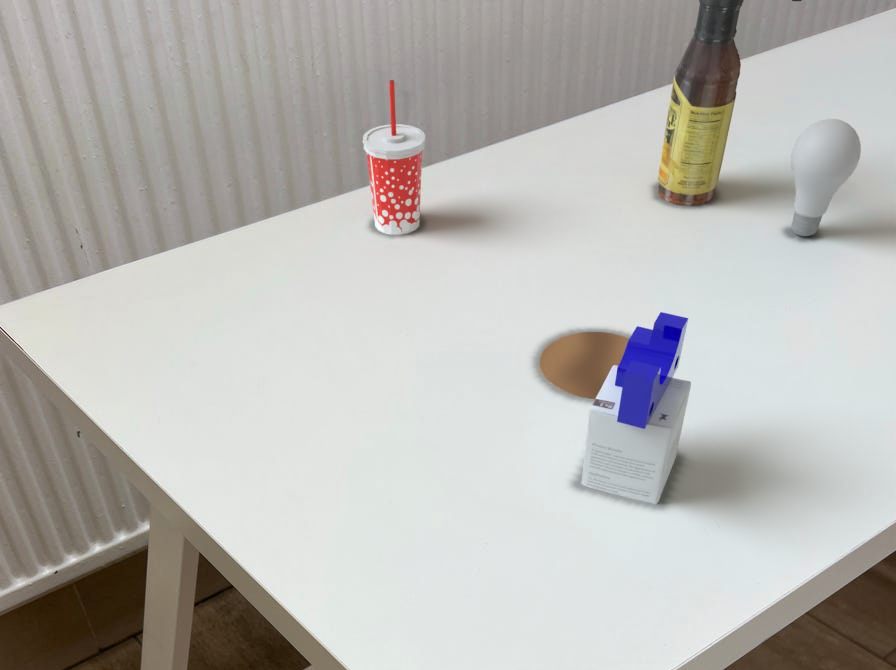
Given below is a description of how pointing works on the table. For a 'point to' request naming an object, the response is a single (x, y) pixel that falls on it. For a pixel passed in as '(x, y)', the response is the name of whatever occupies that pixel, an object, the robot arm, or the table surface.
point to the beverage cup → (395, 173)
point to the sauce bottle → (701, 107)
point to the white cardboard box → (633, 443)
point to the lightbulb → (821, 170)
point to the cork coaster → (582, 361)
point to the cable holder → (649, 368)
